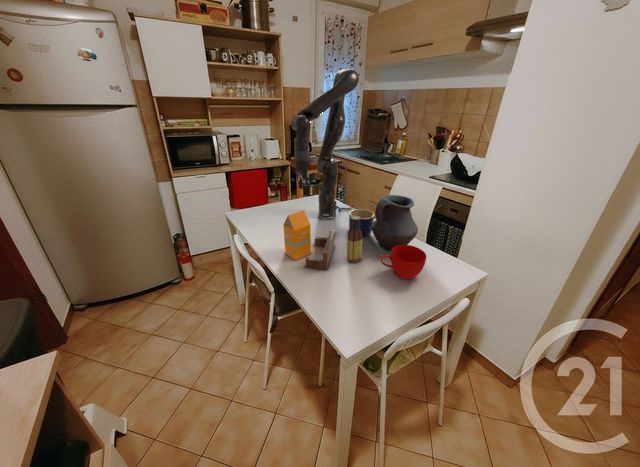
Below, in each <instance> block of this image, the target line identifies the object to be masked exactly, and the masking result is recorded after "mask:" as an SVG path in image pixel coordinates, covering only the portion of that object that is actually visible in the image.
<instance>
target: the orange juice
mask: <svg viewBox="0 0 640 467" xmlns="http://www.w3.org/2000/svg"><path fill="white" fill-rule="evenodd" d="M311 236H312V235H311V222H310V220H309V218H308V215H307V213H306V210H305V209H303V210H300V211H297V212H294V213H290V214H288V215H287V217H286V219H285V221H284V223H283V240H284V253H285V255H287V256H288V257H290V258H291V259H293V260H294V261H298V260H299V259H302V258H304V257H307V256H308V255H311V253H312V251H311V250H312V249H311V247H312V244H311V243H312V241H311V240H312V238H311Z"/></svg>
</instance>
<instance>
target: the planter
mask: <svg viewBox="0 0 640 467" xmlns="http://www.w3.org/2000/svg"><path fill="white" fill-rule="evenodd" d="M348 213H349V214H348V217H349V218H348V229H349V228H350V226H351V220H350V218H351V216H359V217H360V218H361V220H360V229H361V232H362V238H363V237H368V236H369V235H370V234H372V229H371V227H372V224H373V222H374V221H375V212H373V211H371V210H368V209H364V208H358V209H352V210H351V211H349V212H348Z"/></svg>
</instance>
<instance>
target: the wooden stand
mask: <svg viewBox="0 0 640 467" xmlns="http://www.w3.org/2000/svg"><path fill="white" fill-rule="evenodd" d="M335 232H336V231H335V230H329V234H328V236H327V237H324V236H315V237H314V247H323V251H322V258H320V257H311V256H305V268H306V269H313V270H322V271H323V270H325V271H328V268H329V265H330V263H331V262H330V261H331V258H332V255H333V251H334V248H335Z"/></svg>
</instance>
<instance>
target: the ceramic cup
mask: <svg viewBox="0 0 640 467" xmlns="http://www.w3.org/2000/svg"><path fill="white" fill-rule="evenodd" d="M427 257H428V256H427V254H426V252H425V251H424V250H423V249H421V248H419V247H417V246H414V245H410V244H408V245H398V246H395V247H394V248H393V249H392V251H390V255H389V254H382V255H381V256H380V259H379V260H380V263H381V264H382V265H383V266H384V267H387V268H390V269H392V271H393V272H394V274H396V276H397V277H398V278H400V279H402V280H412V279H413V278H415V277H417V276H418V275H419V274H420V273H421V272H422V271H423V269H424V267H425V264H426V262H427ZM384 258H388V259H389V260H390V264H387V263H386V262H384V261H383V260H384Z"/></svg>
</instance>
